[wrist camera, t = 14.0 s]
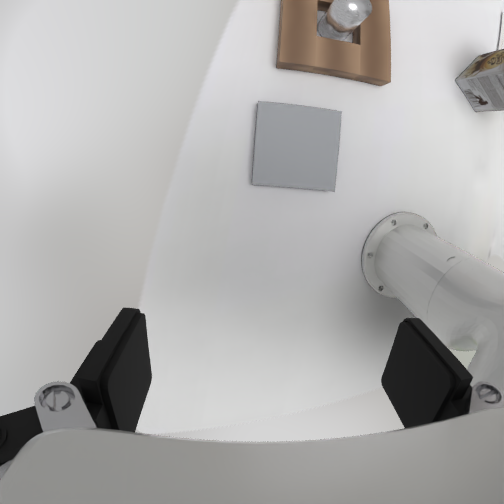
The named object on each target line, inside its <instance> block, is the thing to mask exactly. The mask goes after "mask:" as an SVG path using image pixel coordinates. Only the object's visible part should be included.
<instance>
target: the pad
mask: <svg viewBox="0 0 504 504" xmlns="http://www.w3.org/2000/svg"><path fill="white" fill-rule="evenodd" d="M341 113H342V111H336V110H330V109H323V108H317V107H309V106H302V105H293V104H284V103H274V102H263V101H258V104H257V117H256V131H255V144H254V158H253V172H252V185H265V186H278V187H291V188H302V189H312V190H323V191H332V192H335V183H336V174H337V163H338V152H339V140H340V127H341Z"/></svg>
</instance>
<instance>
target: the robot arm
mask: <svg viewBox="0 0 504 504" xmlns="http://www.w3.org/2000/svg"><path fill="white" fill-rule="evenodd" d="M391 221H392V222H391ZM368 253H369V255H368ZM362 267H363V272H364V275H365V278H366V280H367V281H368V283H369V285H370V286H371V287H372V288H373V289H374V290H375V291H376V292H377V293H379V294H381V295H383V296H386V297H390V298H398V299H399V300H400V301H401V302H402V303H403V304H404V305H405V306H406V307H407V308H408V309H409V310H410V311H411V312H412V313H413V314H414V315H415V316H416V318H406V319H404V321H403V322H401V323H400V324H399V327H398V330H397V334H396V337H395V340H394V343H393V346H392V349H391V352H390V355H389V358H388V361H387V364H386V367H385V370H384V372H383V375H382V379H381V383H382V386H383V388H384V390H385V392H386V394H387V395H388V397H389V399H390V401H391V403H392V405H393V406H394V408H395V410H396V412H397V414H398V416H399V418H400V420H401V422H402V423H403V425H404V427H405V428H404V429H400V430H394V431H387V432H381V433H375V434H368V435H360V436H352V437H343V438H333V439H320V440H305V441H280V442H240V441H239V442H237V441H216V440H201V439H189V438H178V437H168V436H161V435H152V434H143V433H135V430H136V427H137V424H138V420H139V417H140V414H141V411H142V408H143V405H144V402H145V399H146V396H147V393H148V390H149V387H150V384H151V379H152V372H151V365H150V357H149V348H148V339H147V329H146V318H145V314H142V313H140V310H139V309H133V308H123V309H122V310H121V312H120V313H119V315H118V316H117V317H116V319H115V321H114V322H113V324H112V325H111V326H110V328H109V329H108V331H107V332H106V334H105V335H104V337H103V338H102V340H99V341H97V342H96V343H95V345H94V347H93V348H92V349H91V351H90V352H89V354H88V355H87V357H86V359H85V360H84V362H83V363H82V365H81V366H80V368H79V369H78V371H77V373H76V374H75V376H74V377H73V379H72V381H71V382H70V383H66V382H51V383H49V384H46V385H44V386H43V387H41V388H40V389H39V390H38V391H37V393H36V395H35V398H34V401H35V406H33V407H30V408H26V409H23V410H20V411H17V412H14V413H10V414H7V415H3V416H0V504H504V272H502V271H500V270H499V269H497V268H495V267H493V266H491V265H489V264H487V263H486V262H484V261H482V260H480V259H478V258H477V257H475V256H473V255H471V254H469V253H467V252H466V251H464V250H462V249H460V248H458V247H456V246H454V245H452V244H451V243H449V242H447V241H445V240H443V239H441V238H439V237H437V235H436V233H435V231H434V228H433V227H432V226H431V224H430V223H429V222H428V221H427V220H426V219H425V218H423V217H421V216H419V215H417V214H414V213H409V212H401V213H396V214H393V215H390V216H389V217H387V218H385V219H383V220H382V221H381V222H380V223H379V224H377V226H376V227H375V228H374V229H373V230H372V232H371V233H370V235H369V237H368V238H367V241H366V243H365V246H364V250H363V254H362ZM447 347H448V348H450V349H453V350H457V351H473V350H477V351H476V353H475V355H474V357H473V359H472V361H471V363H470V364H469V366H468V369H466V368H465V367H464V366H463V365H462V364H461V362H460V361H459V360H458V359H457V358H456V357H455V356H454V355H453V354H452V352H451V351H450V350H449V349H448V348H447Z"/></svg>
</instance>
